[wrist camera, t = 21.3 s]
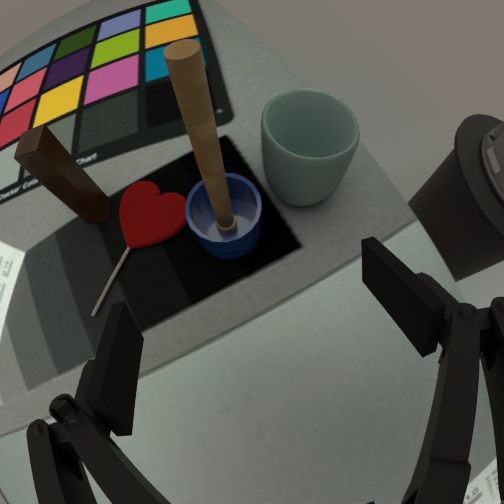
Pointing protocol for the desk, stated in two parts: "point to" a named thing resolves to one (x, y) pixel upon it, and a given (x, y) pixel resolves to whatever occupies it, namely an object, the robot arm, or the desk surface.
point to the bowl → (243, 207)
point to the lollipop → (147, 219)
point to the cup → (307, 144)
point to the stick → (200, 125)
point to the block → (61, 174)
